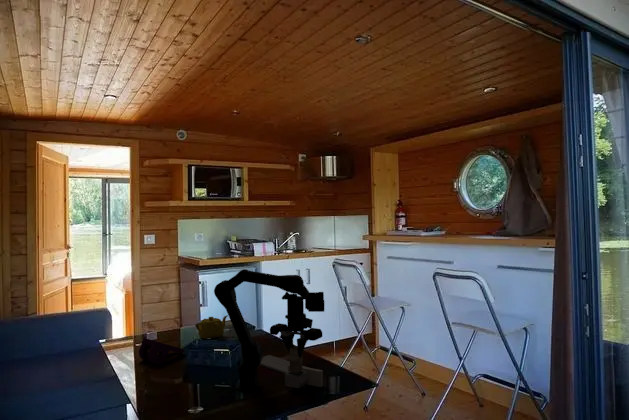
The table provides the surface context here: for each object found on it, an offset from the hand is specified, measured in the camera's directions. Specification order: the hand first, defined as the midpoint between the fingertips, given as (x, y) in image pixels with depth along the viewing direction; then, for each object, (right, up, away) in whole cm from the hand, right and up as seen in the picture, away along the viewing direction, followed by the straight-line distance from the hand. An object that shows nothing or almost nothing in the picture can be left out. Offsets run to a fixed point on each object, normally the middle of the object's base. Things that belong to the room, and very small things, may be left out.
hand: (295, 356), depth 158 cm
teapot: (-45, -13, +69) cm, 83 cm away
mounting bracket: (-58, -13, +37) cm, 70 cm away
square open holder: (+1, -10, +1) cm, 10 cm away
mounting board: (+3, -11, +5) cm, 13 cm away
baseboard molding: (-4, -13, +23) cm, 26 cm away
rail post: (0, -5, 0) cm, 5 cm away
